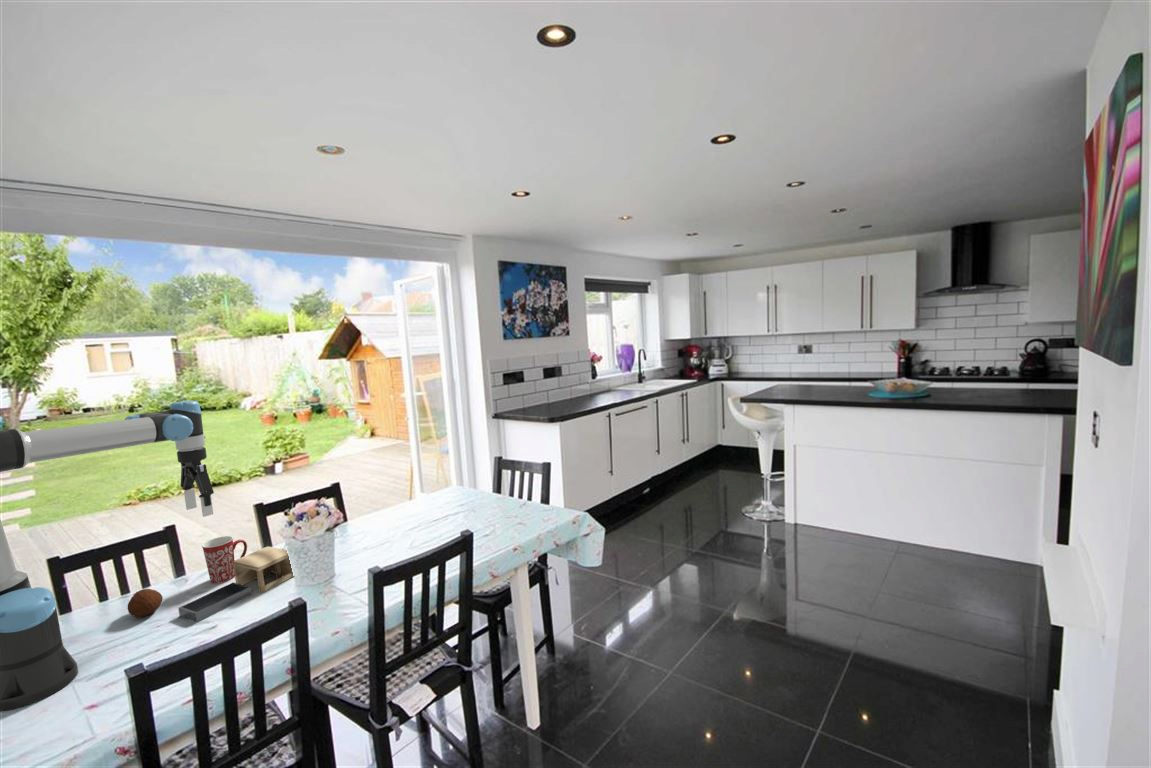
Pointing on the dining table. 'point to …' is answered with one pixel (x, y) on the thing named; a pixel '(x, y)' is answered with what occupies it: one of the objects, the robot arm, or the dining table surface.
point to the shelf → (263, 567)
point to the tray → (214, 602)
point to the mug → (221, 557)
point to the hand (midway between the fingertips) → (199, 511)
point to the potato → (144, 602)
